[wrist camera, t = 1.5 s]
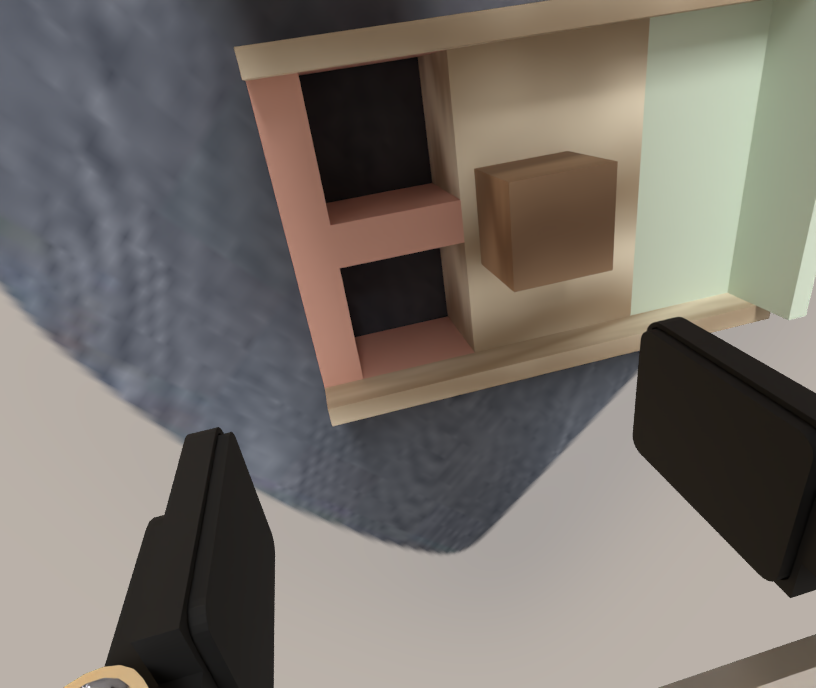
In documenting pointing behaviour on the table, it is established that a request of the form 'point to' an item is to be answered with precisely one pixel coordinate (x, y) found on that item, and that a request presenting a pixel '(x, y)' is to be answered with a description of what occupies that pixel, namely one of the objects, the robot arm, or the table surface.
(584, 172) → the walnut block
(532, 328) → the box
